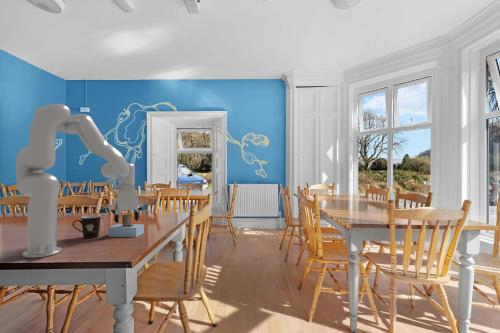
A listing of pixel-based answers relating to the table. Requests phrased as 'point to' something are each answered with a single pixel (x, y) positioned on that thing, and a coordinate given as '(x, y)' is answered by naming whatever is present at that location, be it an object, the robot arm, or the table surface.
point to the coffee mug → (89, 226)
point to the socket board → (126, 230)
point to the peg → (126, 220)
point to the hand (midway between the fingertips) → (126, 221)
